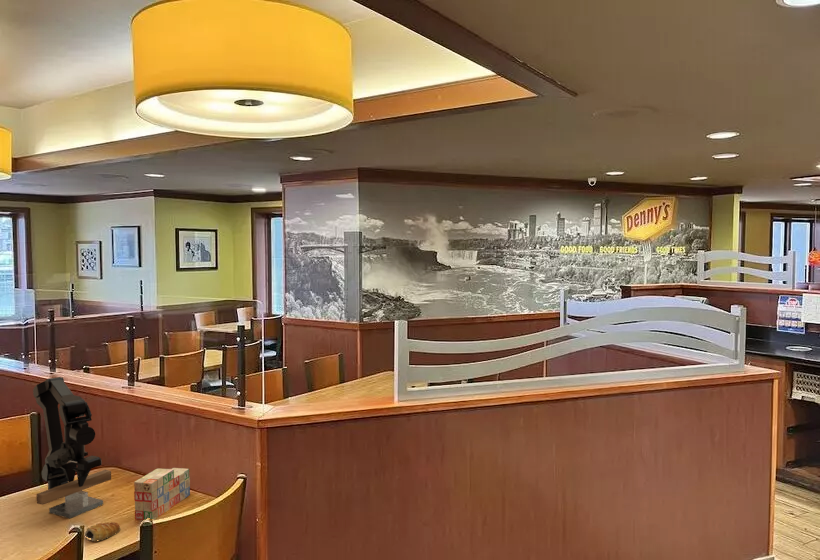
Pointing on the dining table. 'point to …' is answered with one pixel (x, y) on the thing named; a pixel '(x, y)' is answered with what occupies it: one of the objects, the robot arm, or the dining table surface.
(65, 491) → the walnut rod
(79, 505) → the fulcrum stand
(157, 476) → the stack of blocks
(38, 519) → the dining table surface
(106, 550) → the dining table surface
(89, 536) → the pastry
